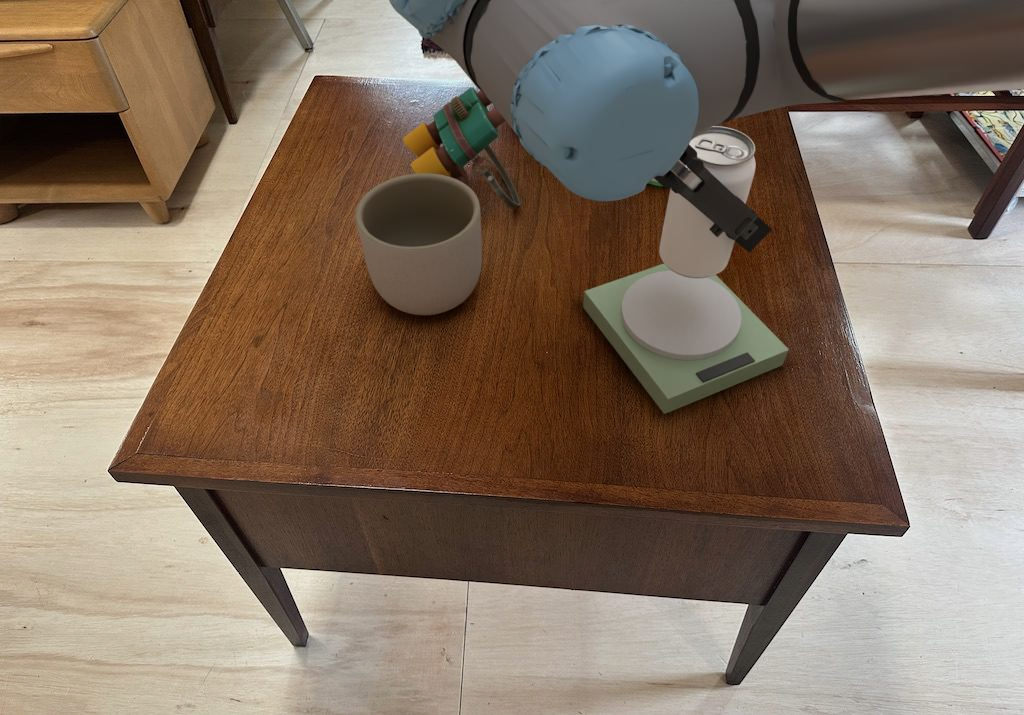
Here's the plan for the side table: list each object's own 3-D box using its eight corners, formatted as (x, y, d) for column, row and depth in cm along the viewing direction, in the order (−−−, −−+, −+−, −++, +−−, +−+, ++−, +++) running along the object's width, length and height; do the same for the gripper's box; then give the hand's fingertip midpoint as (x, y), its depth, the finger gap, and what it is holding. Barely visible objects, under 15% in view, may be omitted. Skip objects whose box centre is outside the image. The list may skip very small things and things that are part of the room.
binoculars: (459, 189, 96) (388, 112, 85) (544, 128, 93) (482, 39, 82) (483, 255, 87) (408, 177, 76) (578, 190, 84) (513, 98, 73)
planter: (477, 246, 83) (472, 167, 75) (491, 321, 75) (487, 241, 67) (371, 258, 82) (354, 179, 74) (374, 335, 74) (355, 256, 66)
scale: (782, 365, 71) (791, 344, 68) (664, 414, 67) (669, 393, 65) (690, 268, 80) (695, 247, 78) (582, 306, 77) (584, 285, 74)
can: (714, 290, 63) (746, 176, 54) (647, 266, 66) (667, 153, 56) (737, 248, 67) (771, 136, 58) (673, 227, 69) (696, 115, 60)
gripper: (495, 71, 55) (647, 190, 72) (626, 210, 43) (770, 314, 60) (559, -14, 52) (700, 130, 69) (715, 111, 41) (840, 248, 57)
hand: (732, 215), depth 64 cm, fingers closed on can, 6 cm apart
